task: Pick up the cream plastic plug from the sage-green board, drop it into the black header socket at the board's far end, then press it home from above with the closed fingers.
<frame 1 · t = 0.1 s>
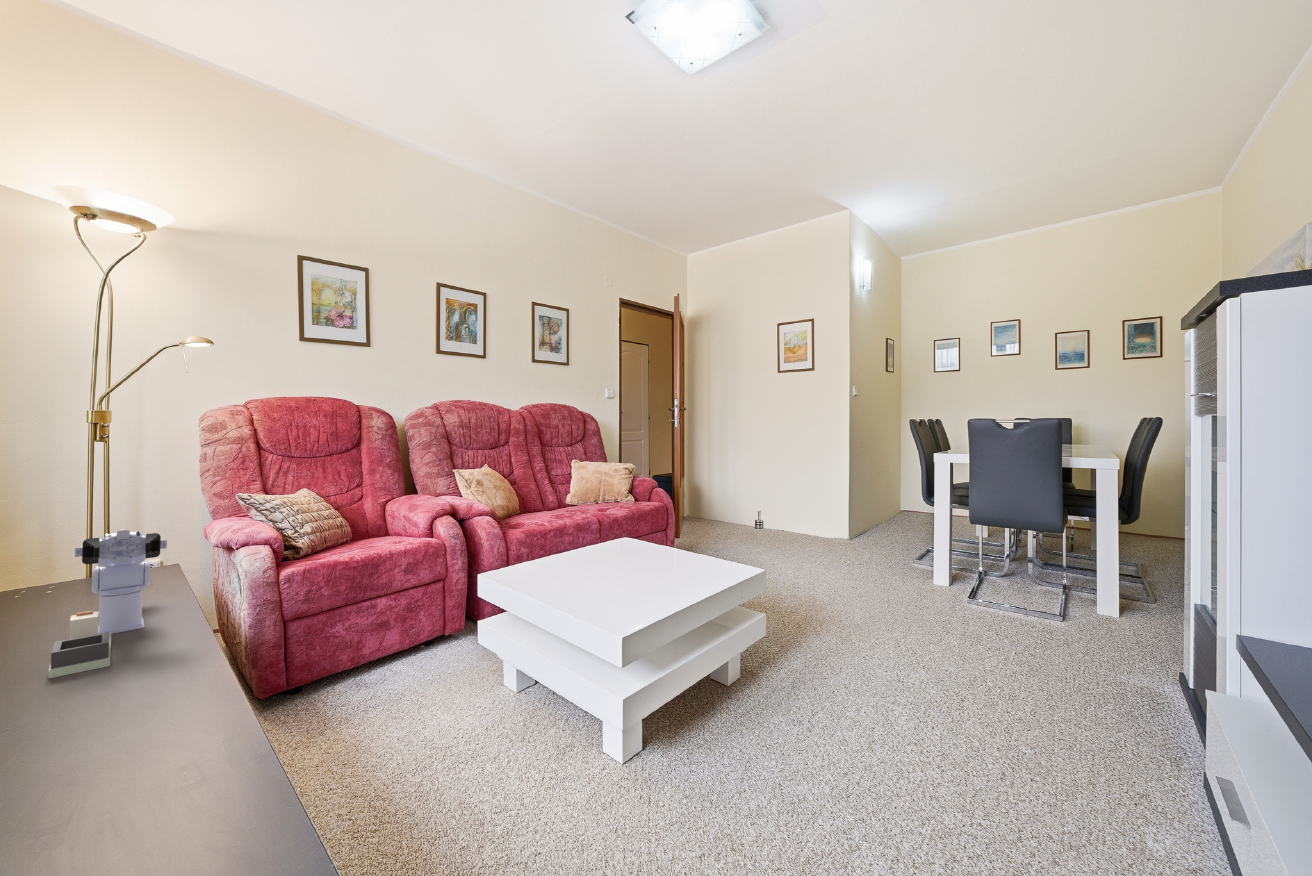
hand: (122, 550, 112), 21 cm above the table, tool horizontal, fingers open, 7 cm apart
plug: (83, 644, 111), point 1 cm above the table, touching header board
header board: (82, 657, 107), on the table
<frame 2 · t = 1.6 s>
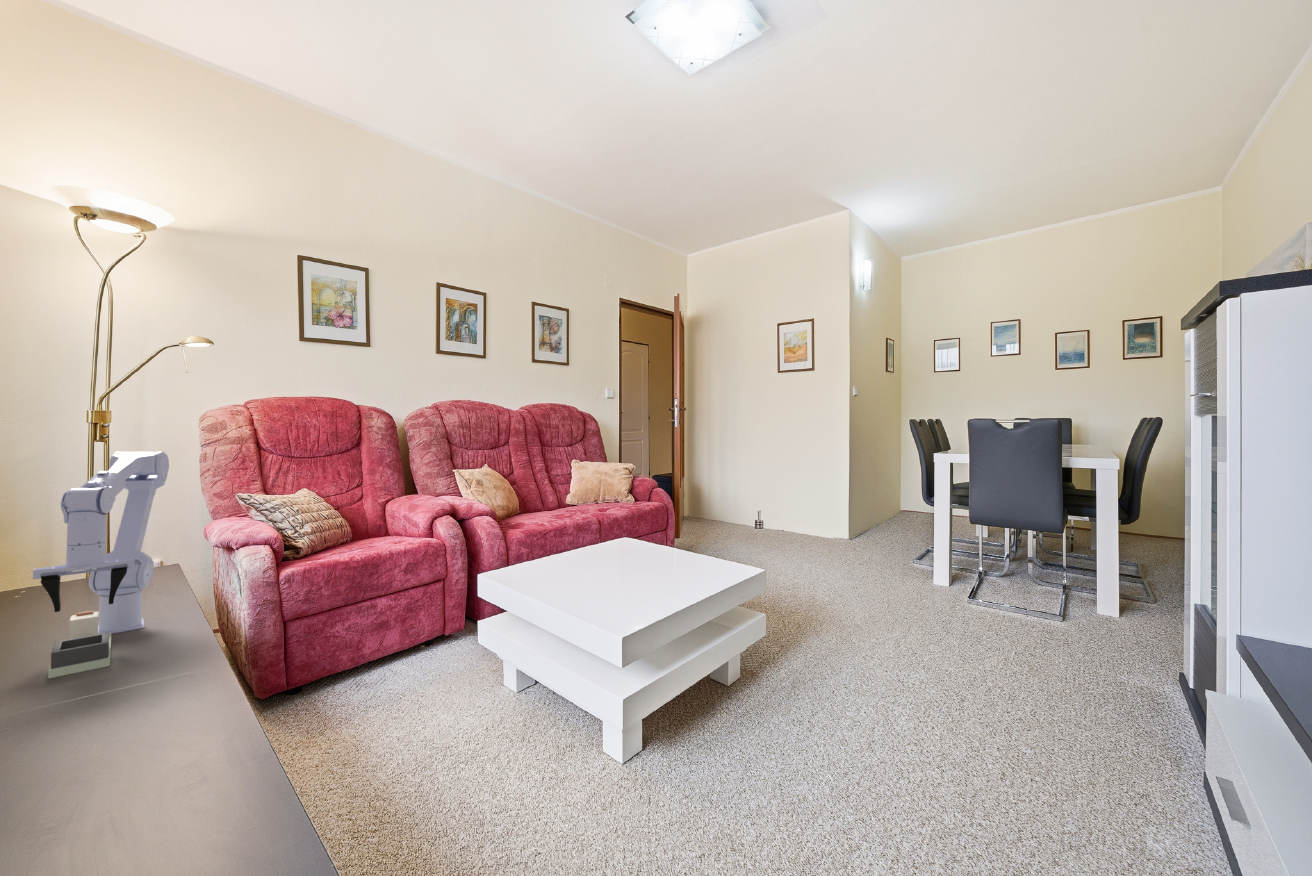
hand: (84, 607, 111), 9 cm above the table, tool pointing down, fingers open, 7 cm apart
nothing on the table moved.
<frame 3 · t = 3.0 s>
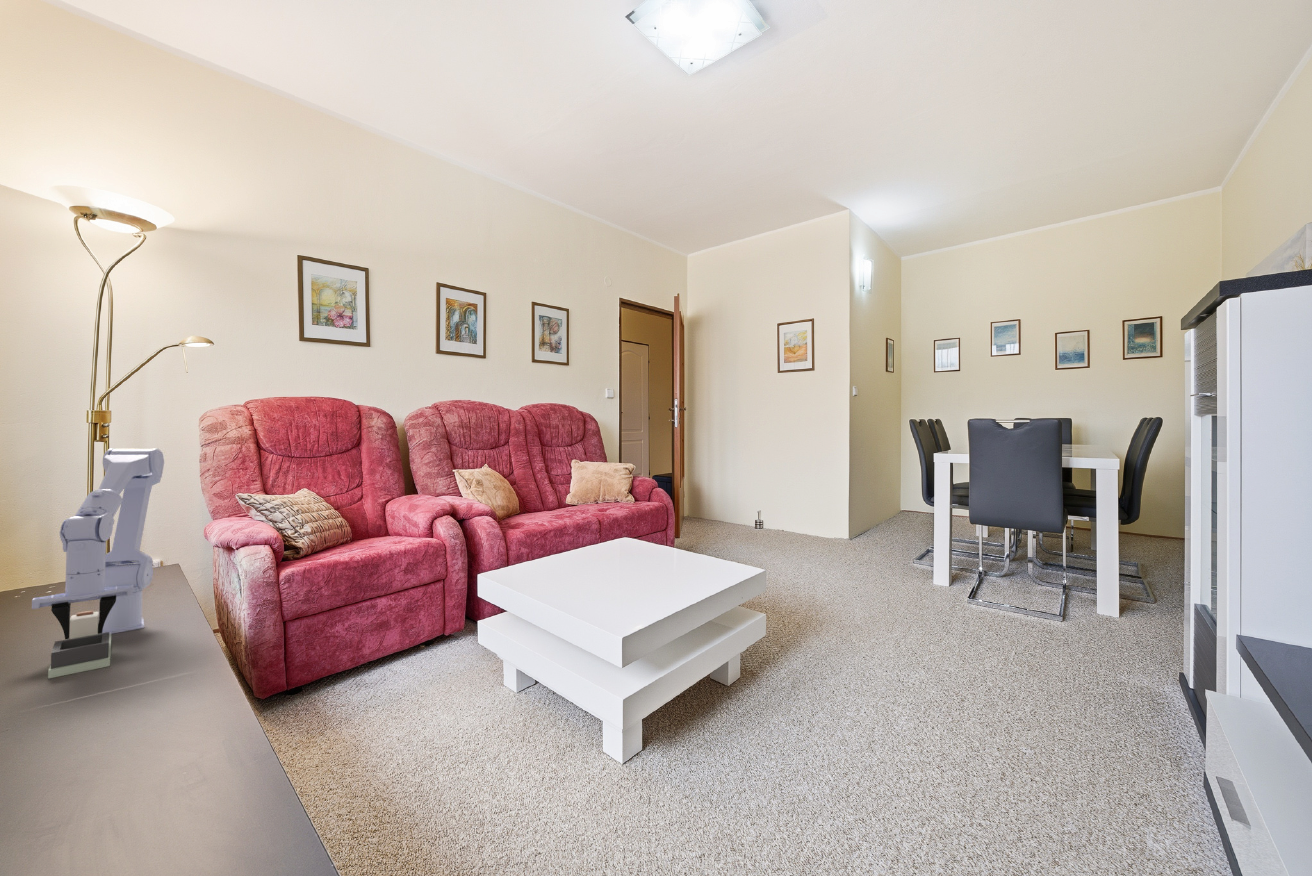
hand: (84, 635, 111), 3 cm above the table, tool pointing down, fingers closed on plug, 4 cm apart
plug: (83, 644, 111), point 1 cm above the table, touching gripper, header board
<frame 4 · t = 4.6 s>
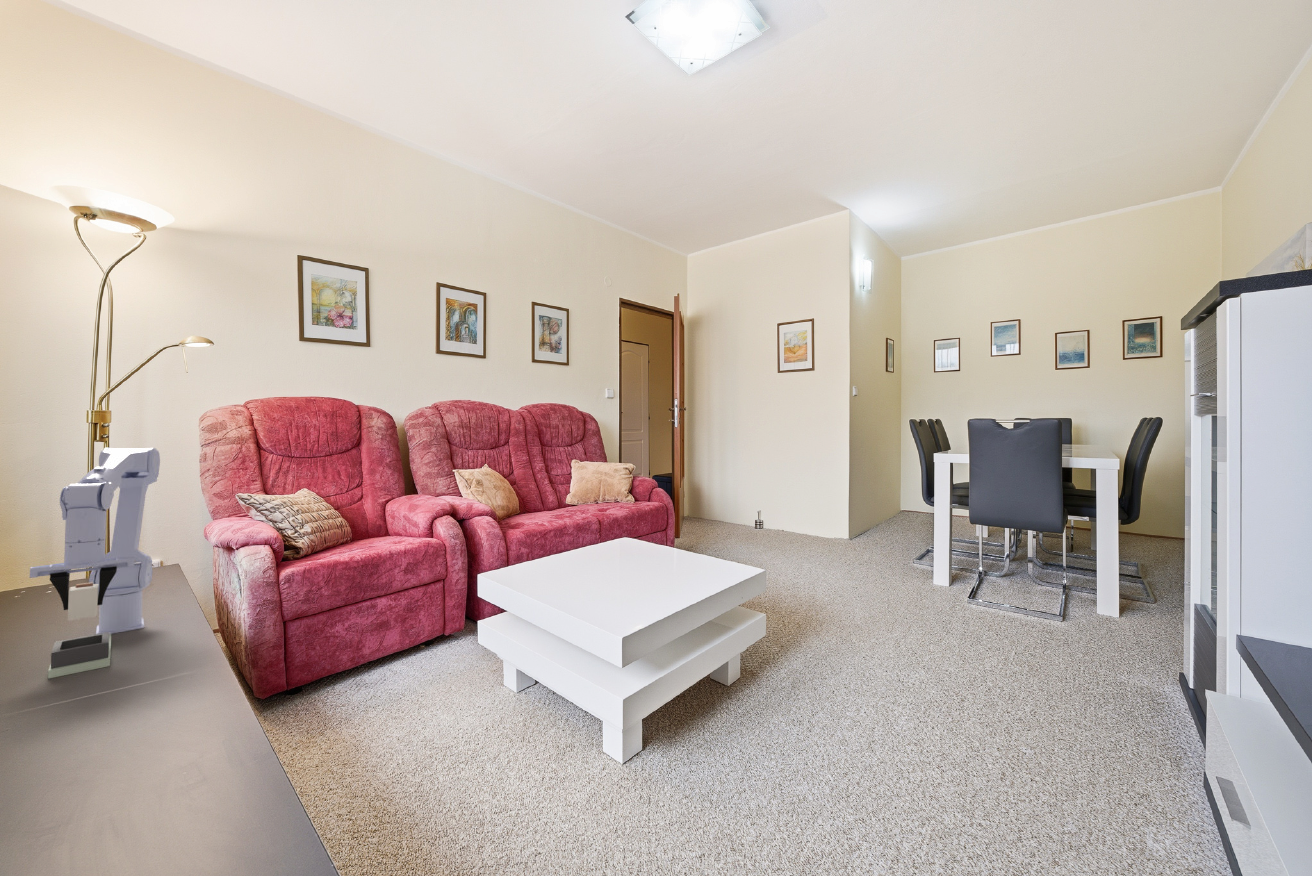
hand: (83, 606, 107), 11 cm above the table, tool pointing down, fingers closed on plug, 4 cm apart
plug: (83, 616, 107), point 9 cm above the table, touching gripper
when the fingers open (5 cm above the table, at t = 6.4 s): plug drops 1 cm, resting on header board.
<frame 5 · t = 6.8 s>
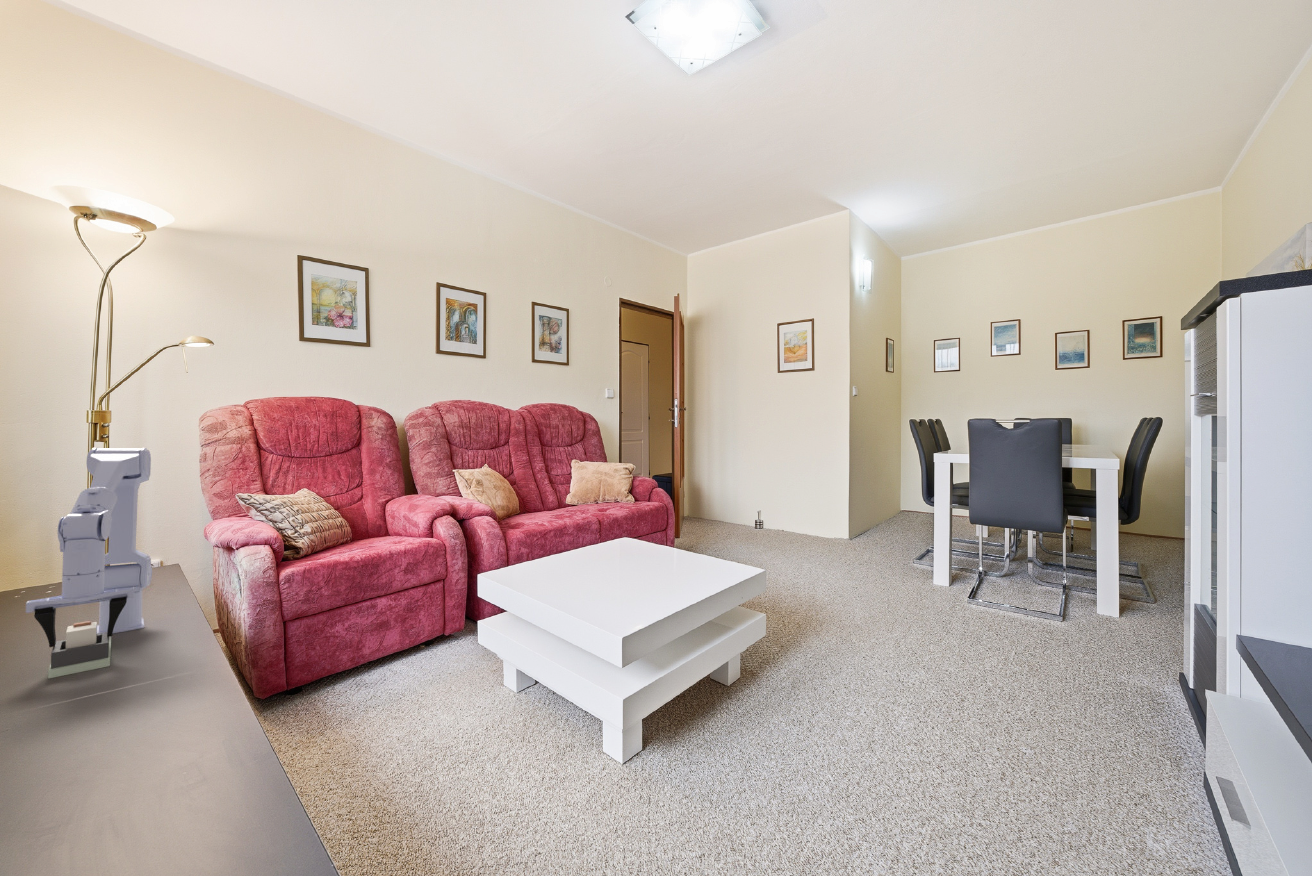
hand: (81, 640, 104), 5 cm above the table, tool pointing down, fingers open, 7 cm apart
plug: (81, 657, 104), point 1 cm above the table, touching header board
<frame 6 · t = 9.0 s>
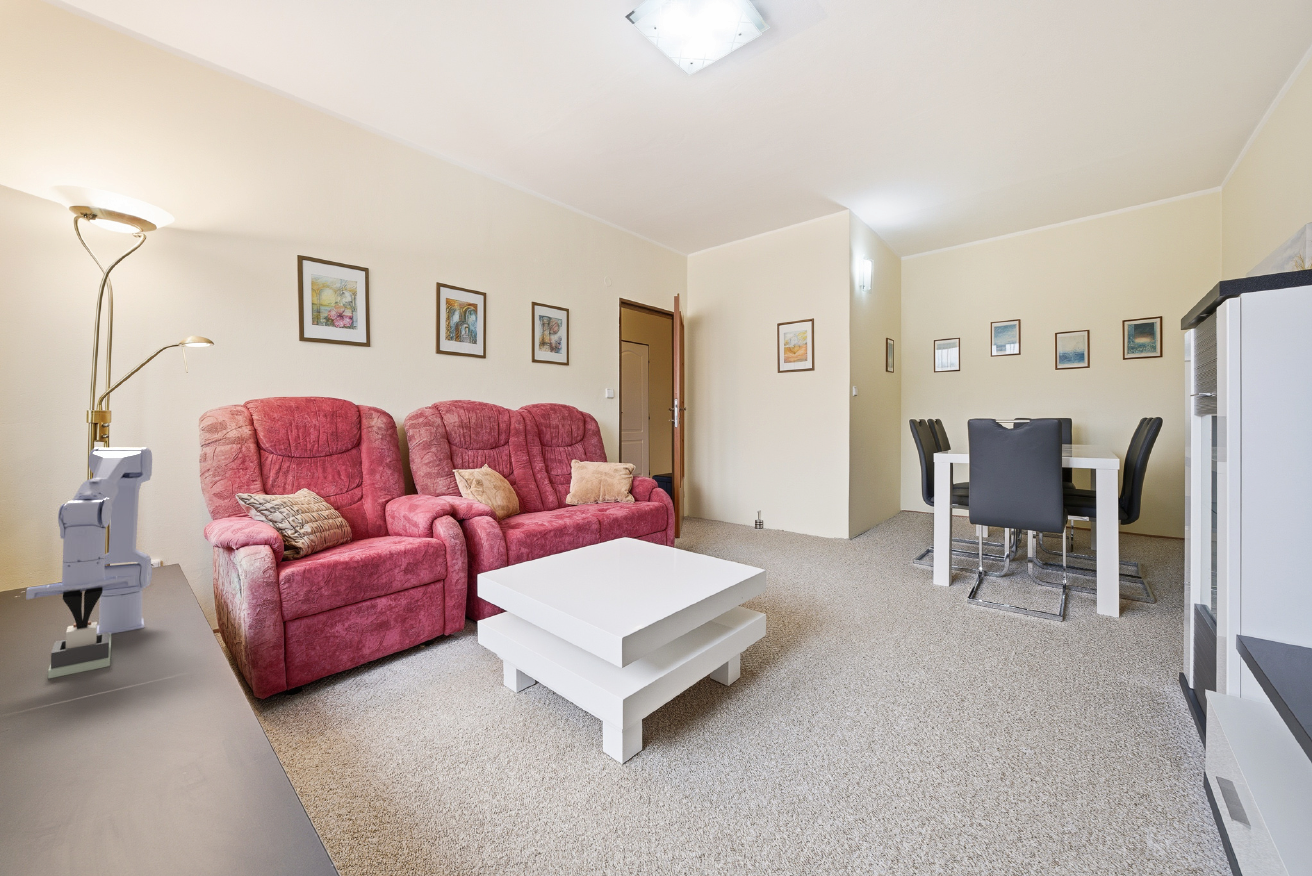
hand: (82, 627, 104), 7 cm above the table, tool pointing down, fingers closed, pressing on plug
plug: (81, 657, 104), point 1 cm above the table, touching gripper, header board
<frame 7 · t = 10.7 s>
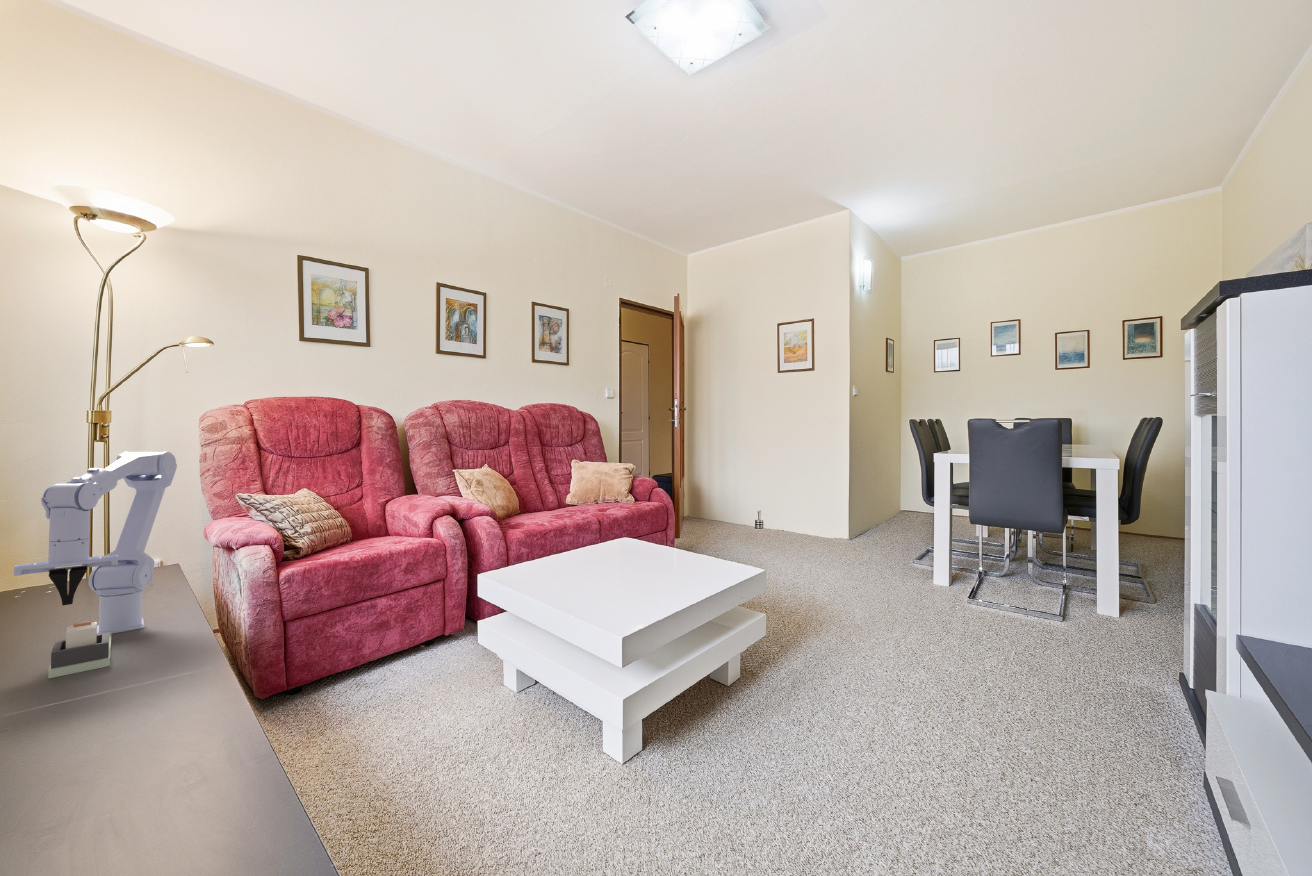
hand: (67, 603, 110), 10 cm above the table, tool pointing down, fingers closed
plug: (81, 657, 104), point 1 cm above the table, touching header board
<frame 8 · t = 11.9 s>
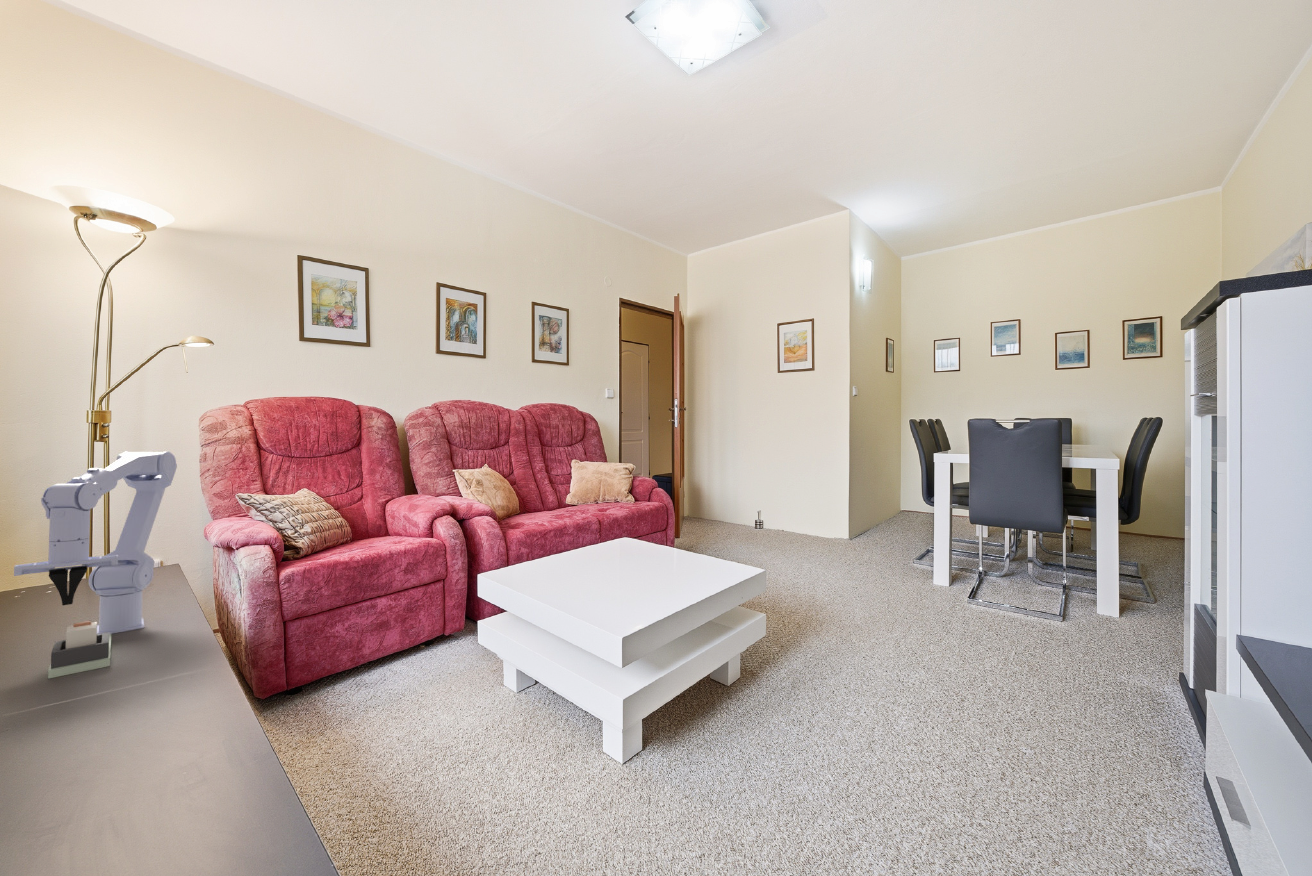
hand: (67, 603, 110), 10 cm above the table, tool pointing down, fingers closed
nothing on the table moved.
at the end: plug 0.1 cm from the target spot on the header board, point 1.5 cm above the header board's base; plug tilted 0°; the gripper is holding nothing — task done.
